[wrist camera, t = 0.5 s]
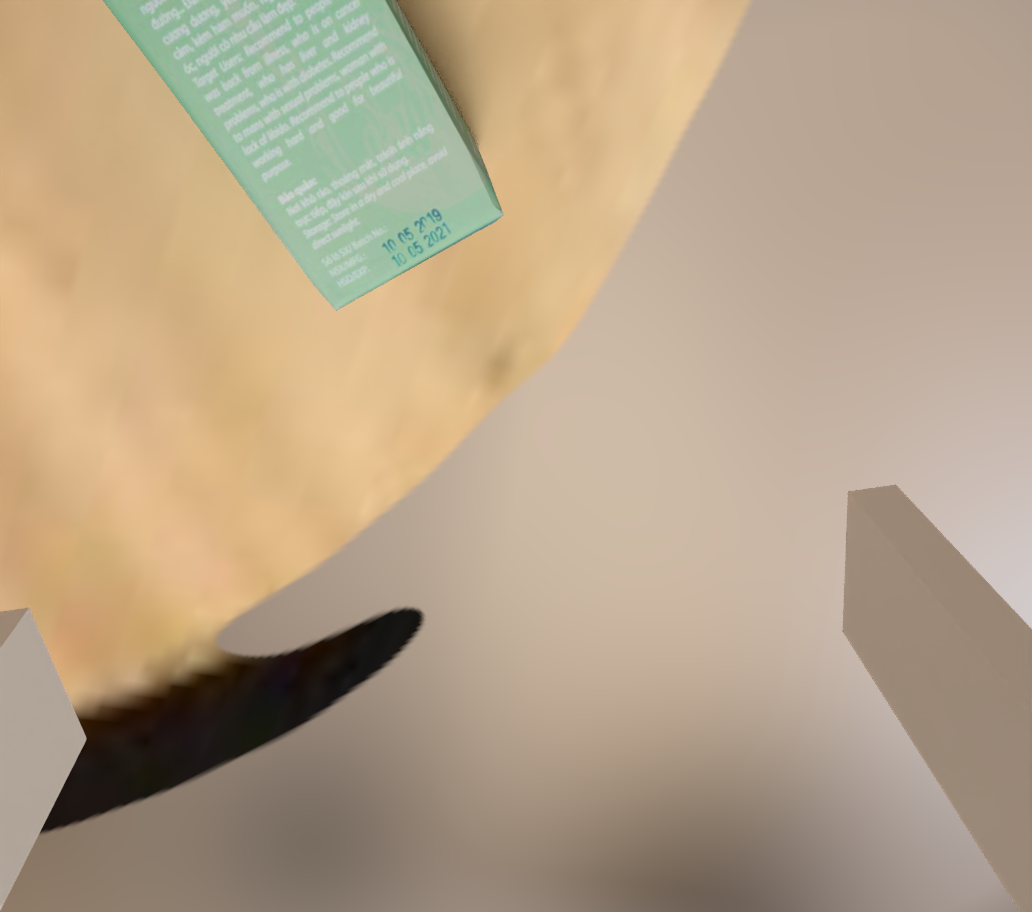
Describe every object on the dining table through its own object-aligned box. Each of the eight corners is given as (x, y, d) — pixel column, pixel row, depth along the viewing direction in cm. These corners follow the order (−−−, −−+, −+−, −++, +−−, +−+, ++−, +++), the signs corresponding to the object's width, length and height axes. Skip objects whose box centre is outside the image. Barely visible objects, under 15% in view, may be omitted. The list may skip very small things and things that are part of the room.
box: (284, -203, 30) (276, -201, 24) (483, 151, 38) (513, 218, 32) (105, -79, 31) (55, -47, 25) (334, 240, 39) (337, 321, 33)
